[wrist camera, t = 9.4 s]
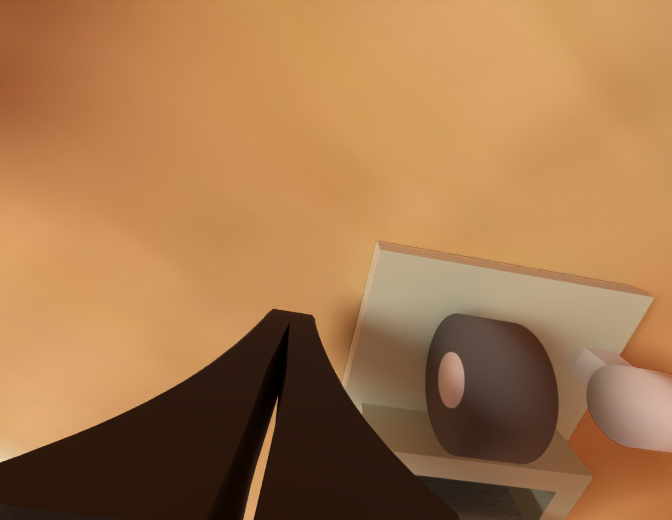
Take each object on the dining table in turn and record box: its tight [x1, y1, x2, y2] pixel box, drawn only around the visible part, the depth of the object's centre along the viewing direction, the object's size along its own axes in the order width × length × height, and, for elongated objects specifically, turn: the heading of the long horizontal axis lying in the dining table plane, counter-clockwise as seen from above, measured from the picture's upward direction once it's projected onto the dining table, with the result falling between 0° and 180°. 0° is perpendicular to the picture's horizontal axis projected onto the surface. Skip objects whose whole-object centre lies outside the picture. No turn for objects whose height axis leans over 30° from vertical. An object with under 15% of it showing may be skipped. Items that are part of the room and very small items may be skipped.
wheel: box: [425, 313, 559, 464], centre depth 10 cm, size 4×2×4 cm, turn 169°
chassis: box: [342, 241, 672, 520], centre depth 12 cm, size 16×10×4 cm, turn 169°
